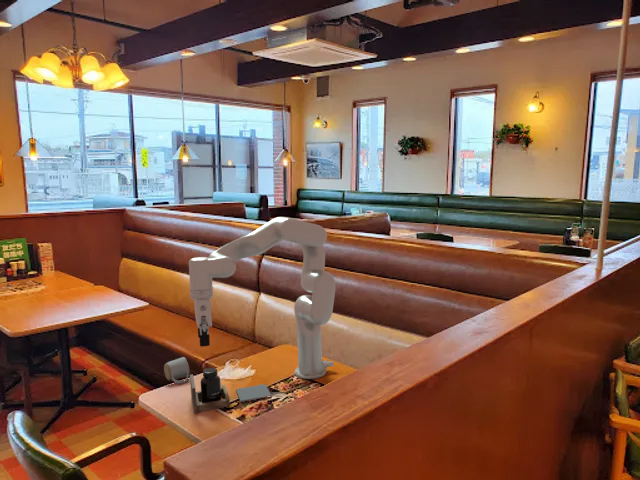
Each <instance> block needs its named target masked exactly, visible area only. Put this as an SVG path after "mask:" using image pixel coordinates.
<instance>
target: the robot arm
mask: <svg viewBox="0 0 640 480" xmlns="http://www.w3.org/2000/svg"><path fill="white" fill-rule="evenodd" d="M327 239H328V233H327V230H326V229H325V228H324V227H323V226H321V225H319V224H316V223H312V222H307V221H304V220H299V219H297V218H294V217H293V218H292V217H286V216H277V217H274V218H273V219H271V220H269V221H267V222H266V223H265V224H263V225H261V226H260V227H258V228H257V229H255V230H253V231H252V232H250V233H249V234H247V235H244V236H241V237H240V238H237V239H235V240H233V241H230V242H228V243H226V244H224V245H223V246H220V248H218V249H217V250H214V251H213V252H212V253H210V255H209V256H208V257H207V256H198V257H193V258H191V259H189V260H188V273H189V275H188V276H189V290H190V291H189V293H190V297H189V298H190V299H191V300H192V301H194V303H193V304H194V313H195V314H194V315H195V316H194V317H195V322H196V326H197V337H198V338H199V347H209V346H210V341H211V340H210V332H209V328H212V327H213V320H212V303H211V299H212V298H213V297H214V289H213V278H214V279H215V278H221V279H222V278H223V279H225V278H226V279H227V278H230V277H231V276H233V275H234V273H235V272H236V271H237V270H236V269H237V264H236V262H237V261H240V260H242V259H245V258H246V259H247V258H250V257H251V258H252V257H256V256H259V255H263V254H264V253H266V252H267V251H269V250H270V249H272V247H274V246H276V245H277V244H279V243H281V242H282V241H286V242H290V243H295V244H297V245H299V246H300V248H301V250H302V253H303V262H302V269H301V278H300V286H301V288H302V289H303V290H304V291H305V292H307V293H311V294H312V295H310V294H303V295H300V296H298V298H297V299H296V301H295V302H294V305H293V306H294V307H293V309H294V310H293V311H294V316H295V321H296V335H297V341H296V342H297V362H298V363H297V367H296V368H295V370H294V375H295V376H296V377H297V378H300V379H304V380H305V379H306V380H313V379H315V380H316V379H319V378H323V376H325V375H326V374H327V367H329V368H330V367H334V366H335V362H334V361H329V360H323V354H322V352H323V349H322V327H321V326H324V325H326V324H327V323H328V322H329V321H330V320H331V318H332V315H333V310H334V303H335V296H336V285H337V284H336V279H335V278H334V276H333V275H332V273H330V272H328V271H326V270H325V265H326V264H325V263H326V250H325V248H324V244H325V243H326V241H327Z"/></svg>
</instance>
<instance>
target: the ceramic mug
mask: <svg viewBox="0 0 640 480" xmlns="http://www.w3.org/2000/svg"><path fill="white" fill-rule="evenodd" d="M163 372H164V376H165V378H166V380H168V381H169V382H170V381H173V382H174V383H175V384H177V385H182V384H186V382H188V380H187V379H189V377H190V366H189V363H188V361H187V358H186V357H185V356H182V357H179V358H175V359H174V360H170V361H168V362H166V363H165V364H164V365H163ZM183 378H185V379H183ZM179 379H183V380H185V381H183V380H179ZM179 383H181V384H179Z"/></svg>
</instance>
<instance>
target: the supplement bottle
mask: <svg viewBox="0 0 640 480" xmlns="http://www.w3.org/2000/svg"><path fill="white" fill-rule="evenodd" d="M221 381H222V380H221V377H220V376H219V375H218V369H217V368H215V367H207V368H205V369H203V370H202V378H201V379H200V391H201V399H200V401H201V404H202V403H208V402H213V401H219V400H222V395H221V388H222V385H221V384H222V383H221Z"/></svg>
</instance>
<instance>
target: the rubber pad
mask: <svg viewBox="0 0 640 480" xmlns="http://www.w3.org/2000/svg"><path fill="white" fill-rule="evenodd" d="M235 392H236V395H237V397H238V399H239V402H240V403H241V402H243V403H246V402H245V401H249V400H254V401H256V400H255V399H260V398H264V397H267V396H271V397H272V394H271V392H270V390H269V388H268V386H267V385H266V384H265V383H264V384H258V385H252V386H246V387H239V388H236V389H235ZM260 400H261V399H260ZM249 402H250V401H249Z"/></svg>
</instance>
